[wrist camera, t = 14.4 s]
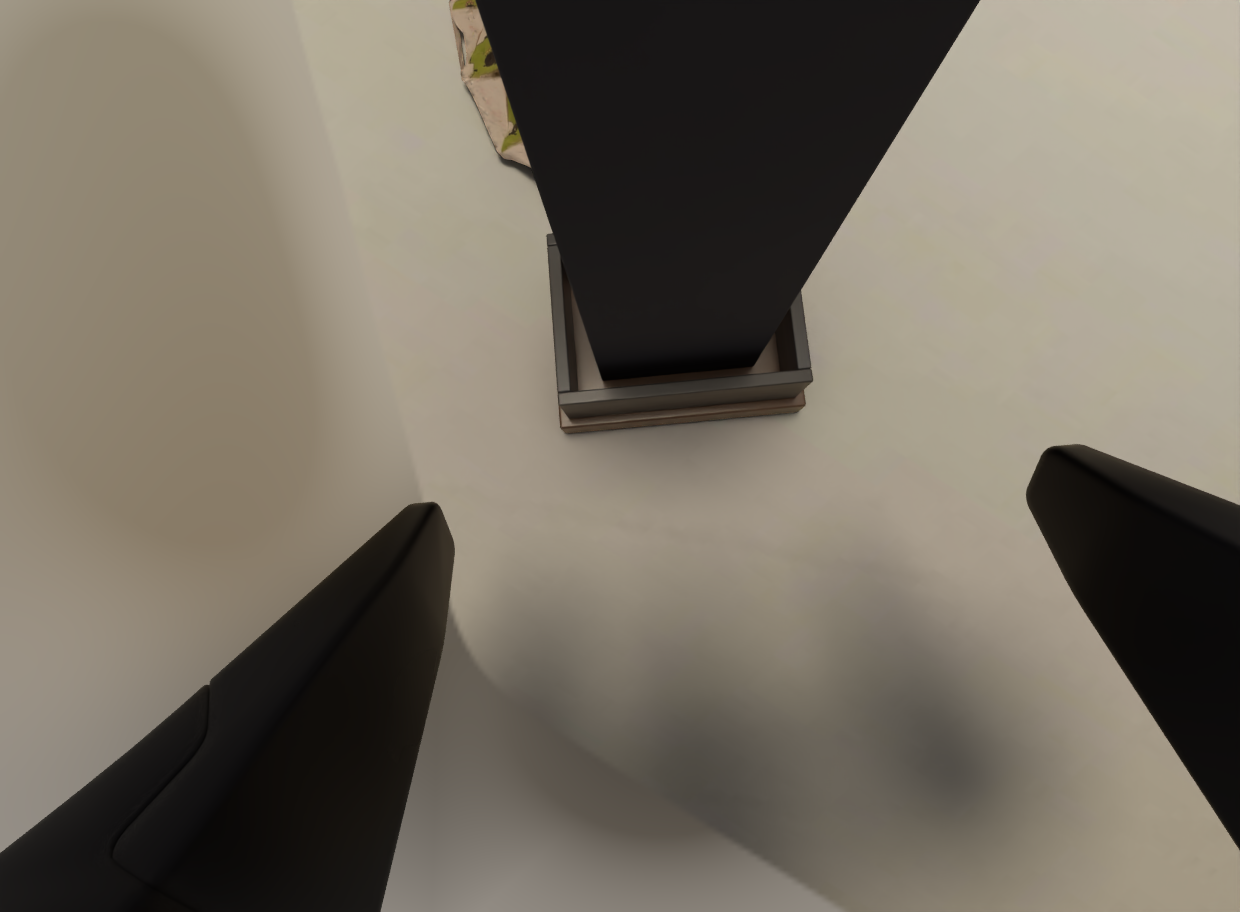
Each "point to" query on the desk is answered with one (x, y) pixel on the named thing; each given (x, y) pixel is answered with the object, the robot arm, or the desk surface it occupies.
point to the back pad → (705, 153)
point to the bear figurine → (486, 81)
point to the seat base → (670, 375)
